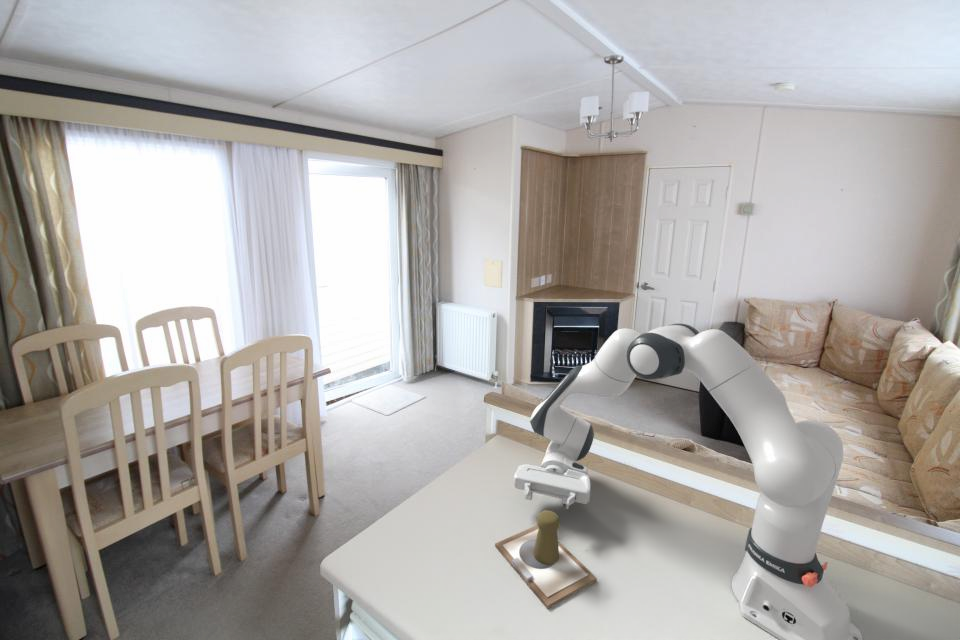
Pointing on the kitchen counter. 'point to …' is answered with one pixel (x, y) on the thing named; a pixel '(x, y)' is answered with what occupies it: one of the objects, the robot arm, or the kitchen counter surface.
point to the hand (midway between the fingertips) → (546, 501)
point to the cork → (547, 538)
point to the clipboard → (545, 568)
